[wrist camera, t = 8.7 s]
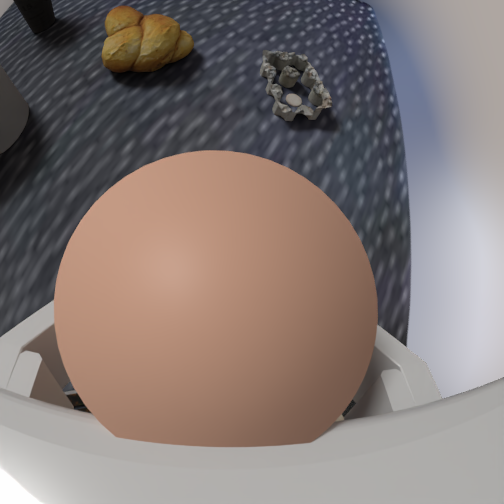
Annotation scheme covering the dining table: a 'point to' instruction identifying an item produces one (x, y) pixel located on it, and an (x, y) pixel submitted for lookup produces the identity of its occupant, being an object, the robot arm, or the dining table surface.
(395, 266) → the dining table surface
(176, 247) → the dowel
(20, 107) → the coffee mug
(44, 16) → the drinking cup
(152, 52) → the bread roll
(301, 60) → the egg carton
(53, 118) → the dining table surface
